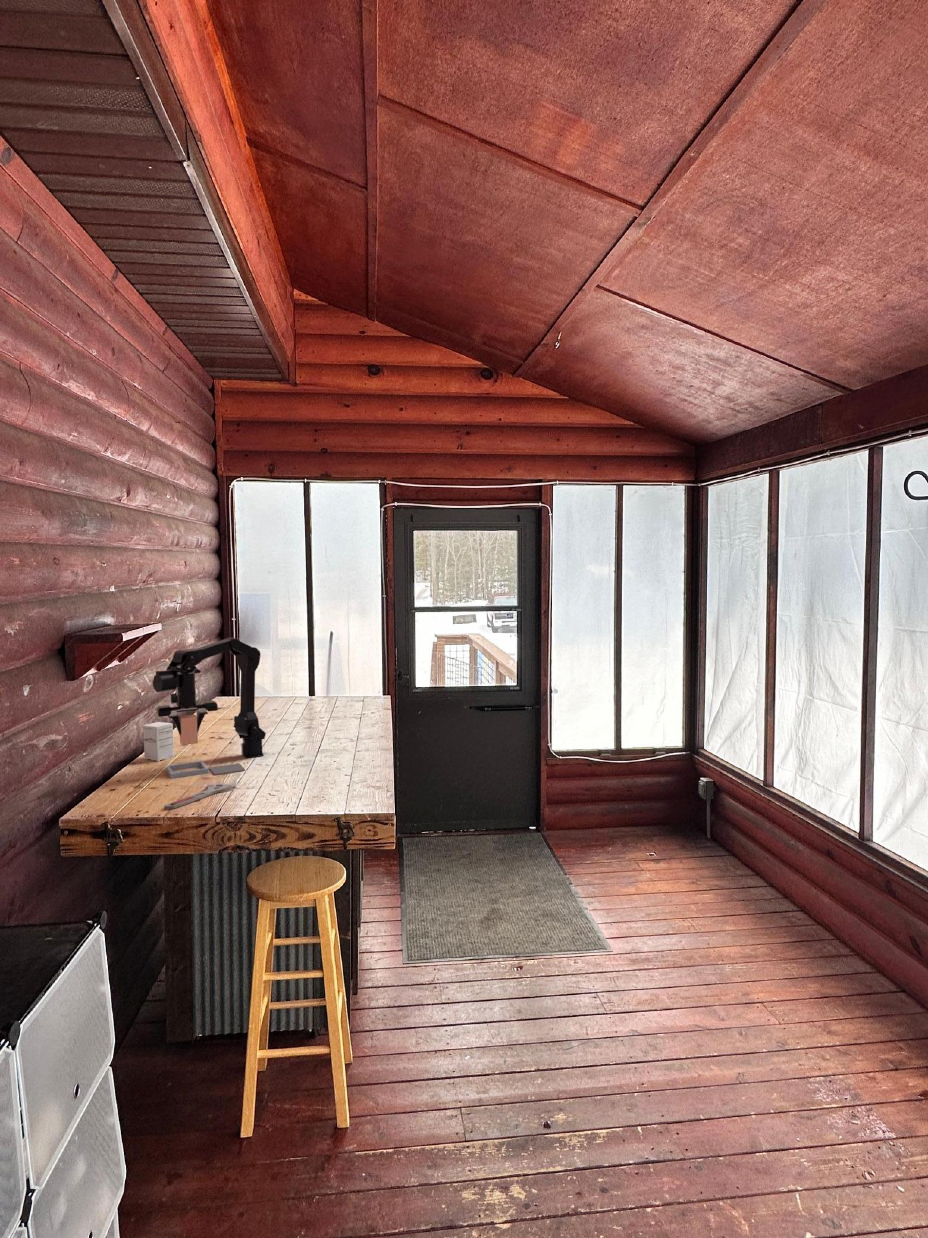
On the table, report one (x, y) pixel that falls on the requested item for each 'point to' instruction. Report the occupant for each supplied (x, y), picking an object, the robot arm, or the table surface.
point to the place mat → (226, 769)
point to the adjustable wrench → (203, 794)
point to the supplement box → (158, 741)
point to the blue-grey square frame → (187, 773)
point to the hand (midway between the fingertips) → (188, 733)
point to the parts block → (188, 729)
